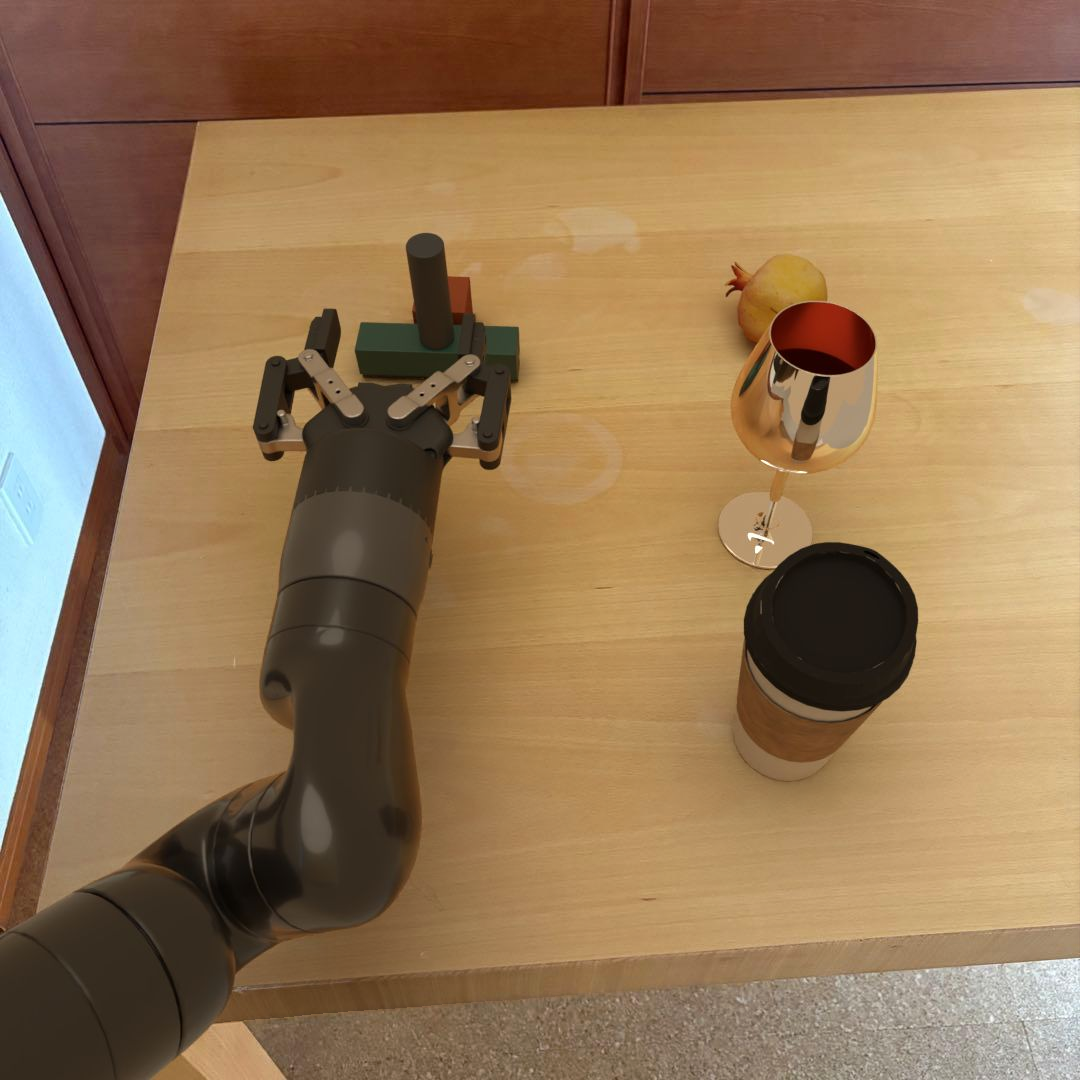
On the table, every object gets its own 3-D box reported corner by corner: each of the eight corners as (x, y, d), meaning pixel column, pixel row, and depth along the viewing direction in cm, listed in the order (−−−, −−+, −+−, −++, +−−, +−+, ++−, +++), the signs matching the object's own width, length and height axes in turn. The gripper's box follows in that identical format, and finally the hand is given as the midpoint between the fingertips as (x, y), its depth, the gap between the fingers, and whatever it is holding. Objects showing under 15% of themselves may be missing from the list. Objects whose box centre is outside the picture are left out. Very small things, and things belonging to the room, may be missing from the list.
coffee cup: (876, 716, 61) (958, 586, 49) (815, 831, 57) (887, 720, 45) (752, 648, 64) (799, 508, 51) (685, 752, 60) (720, 628, 48)
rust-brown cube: (417, 349, 79) (411, 311, 76) (423, 313, 81) (418, 275, 78) (468, 351, 79) (464, 312, 76) (473, 315, 81) (469, 276, 78)
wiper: (361, 382, 77) (332, 257, 67) (367, 353, 79) (340, 228, 69) (517, 387, 77) (511, 261, 67) (520, 358, 78) (515, 232, 69)
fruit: (877, 275, 75) (762, 219, 78) (837, 307, 71) (717, 246, 74) (842, 351, 80) (736, 296, 83) (804, 386, 75) (692, 325, 79)
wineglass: (691, 492, 71) (727, 296, 56) (802, 474, 72) (867, 276, 57) (724, 589, 66) (773, 404, 51) (843, 569, 67) (925, 381, 52)
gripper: (492, 501, 50) (514, 276, 59) (207, 490, 50) (273, 269, 59) (498, 581, 56) (518, 367, 65) (245, 570, 56) (299, 359, 65)
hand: (401, 320), depth 62 cm, fingers open, 8 cm apart
